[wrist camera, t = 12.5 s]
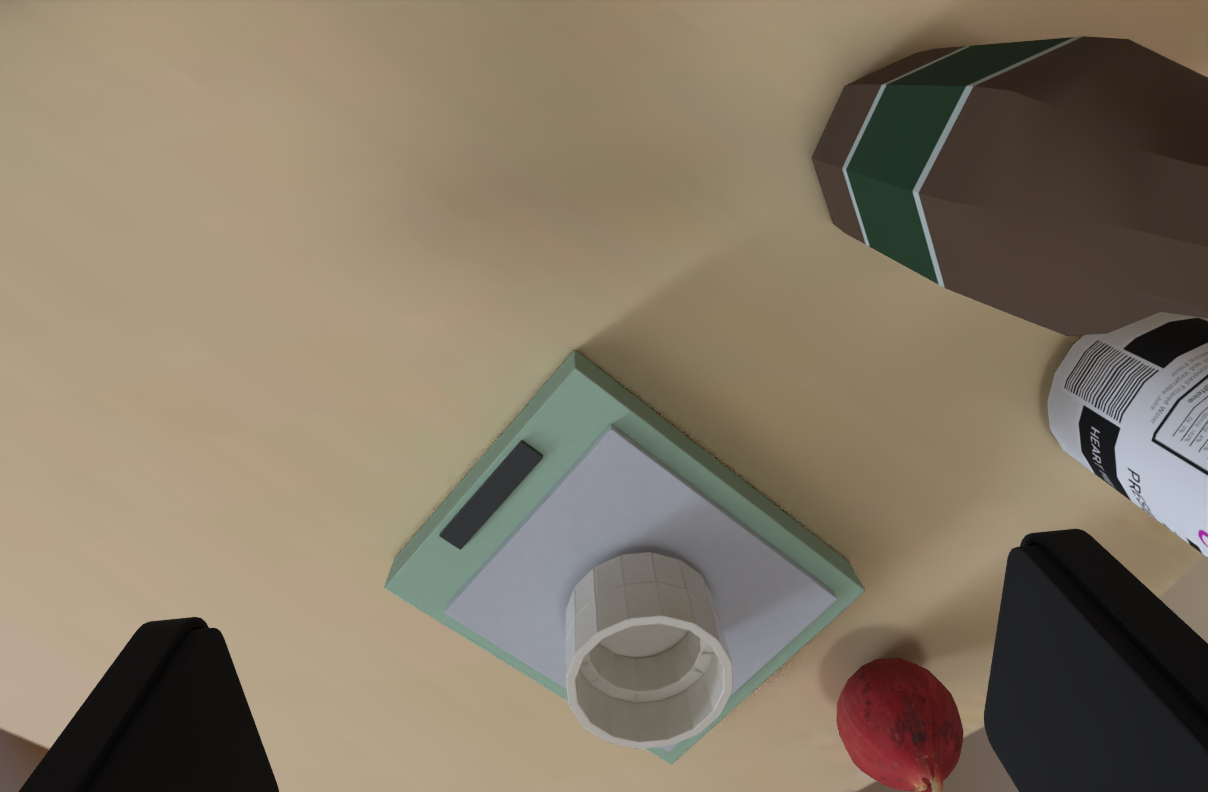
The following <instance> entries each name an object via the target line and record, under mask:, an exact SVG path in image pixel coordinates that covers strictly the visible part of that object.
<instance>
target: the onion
mask: <svg viewBox="0 0 1208 792" xmlns="http://www.w3.org/2000/svg"><path fill="white" fill-rule="evenodd" d="M837 726H838V730H839V735H840V737H841V739H842V741H843V743H844V745H845V747H846V750H847V752H848V753H849V755H850V757H851V759H852V761H853V763H854V764H855V765H856V766H857V767H858V768H859V769H860V770H861V771H863V772H864V773H866V774H867V775H869V776H870V777H872V778H873V779H875V780H877V781H878V782H880V783H882V784H884V785H885V786H888V787H890V788H894V789H900V790H906V791H916V792H942V788H943V780H945V779H946V778H947V777H948V776H949V775H950V773H951V772H952V771H953V769H954V768H955V766H956V764H957V763H958V760H959V757H960V752H961V747H962V742H963V728H962V723H961V719H960V716H959V712H958V709H957V706H956V704H955V701H954V699H953V697H952V695H951V693H950V692H949V691H948V690H947V689H946V688H945V686H944V685H943V684H942V683H941V682H940V681H939V680H938V679H937V678H936V677H935V676H934V675H933V674H932V673H931V672H930V671H929V670H927V669H925V668H923V667H921V666H919V665H917V664H914V663H912V662H909V661H906V660H903V659H901V658H892V659H877V660H874V661H872V662H870V663H868V664H865V665H863V666H862V667H861V668H860V669H859V670H857V671H856V672H855V673H854V674H853V675H852V676H851V677H850V678H849V679H848V681H847V683H846V684H845V686H844V688H843V690H842V692H841V694H840V697H839V700H838V703H837Z"/></svg>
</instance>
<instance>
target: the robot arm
mask: <svg viewBox="0 0 1208 792" xmlns="http://www.w3.org/2000/svg"><path fill="white" fill-rule="evenodd" d="M984 724H985V729H986V733H987V736H988V739H989V742H990V744H991V746H992V748H993V750H994V751H995V753H996V754H997V756H998V758H999V760H1000V761H1001V762H1002V764H1003V766H1004V768H1005V769H1006V771H1007V773H1008V774H1009V776H1010V778H1011V779H1012V781H1013V782H1014V784H1015V786H1016V787H1017V789H1018V791H1019V792H1208V644H1207V643H1206V642H1205V641H1204V640H1203V639H1202V638H1201V637H1200V636H1199V635H1198V634H1197V633H1196V632H1194V631H1193V630H1192V629H1191V628H1190V627H1189V626H1188V625H1187V624H1186V623H1185V622H1184V621H1183V620H1181V619H1180V618H1179V617H1178V616H1177V615H1176V614H1175V613H1174V612H1173V611H1172V610H1171V609H1170V608H1168V607H1167V606H1166V605H1165V604H1164V603H1163V602H1162V601H1161V600H1160V599H1159V598H1158V597H1157V596H1155V595H1154V594H1153V593H1152V592H1151V591H1150V590H1149V589H1148V588H1147V587H1146V586H1145V585H1144V584H1142V583H1141V582H1140V581H1139V580H1138V579H1137V578H1136V577H1135V576H1134V575H1133V574H1132V573H1131V572H1129V571H1128V570H1127V569H1126V568H1125V567H1124V566H1123V565H1122V564H1121V563H1120V562H1119V561H1118V560H1116V559H1115V558H1114V557H1113V556H1112V555H1111V554H1110V553H1109V552H1108V551H1107V550H1106V549H1105V548H1103V547H1102V546H1101V545H1100V544H1099V543H1098V542H1097V541H1096V540H1095V539H1094V538H1093V537H1092V536H1090V535H1089V534H1088V533H1086V532H1085V531H1083V530H1080V529H1069V530H1059V531H1049V532H1039V533H1031V534H1028V535H1026V536H1025V537H1024V539H1023V540H1022V542H1021V545H1020V547H1016V548H1013V549H1012V550H1011V551H1010V553H1009V556H1008V560H1007V566H1006V573H1005V579H1004V586H1003V592H1002V599H1001V605H1000V612H999V619H998V625H997V632H996V638H995V645H994V651H993V658H992V665H991V671H990V678H989V684H988V691H987V697H986V704H985V711H984ZM19 792H279V789H278V785H277V782H276V780H275V777H274V774H273V771H272V769H271V766H270V763H269V760H268V758H267V755H266V752H265V749H264V747H263V744H262V741H261V739H260V736H259V733H258V730H257V728H256V725H255V722H254V719H253V717H252V714H251V711H250V708H249V706H248V703H247V700H246V697H245V695H244V692H243V689H242V686H241V684H240V681H239V678H238V675H237V673H236V670H235V667H234V664H233V662H232V659H231V656H230V653H229V651H228V648H227V645H226V642H225V640H224V637H223V635H222V633H221V632H220V631H219V630H218V629H216V628H209V627H208V626H207V624H206V622H205V621H204V620H202V619H201V618H198V617H191V618H181V619H171V620H161V621H151V622H147V623H145V624H143V625H142V626H141V627H140V628H139V629H138V630H137V631H136V632H135V634H134V635H133V636H132V638H131V639H130V641H129V642H128V643H127V645H126V646H125V647H124V649H123V650H122V651H121V653H120V654H119V656H118V657H117V658H116V660H115V661H114V662H113V664H112V665H111V666H110V668H109V669H108V671H107V672H106V673H105V675H104V676H103V677H102V679H101V680H100V681H99V683H98V684H97V686H96V687H95V688H94V690H93V691H92V692H91V694H90V695H89V696H88V698H87V699H86V701H85V702H84V703H83V705H82V706H81V707H80V709H79V710H78V711H77V713H76V714H75V716H74V717H73V718H72V720H71V721H70V722H69V724H68V725H67V726H66V728H65V729H64V731H63V732H62V733H61V735H60V736H59V737H58V739H57V740H56V741H55V743H54V744H53V746H52V747H51V748H50V750H49V751H48V752H47V754H46V755H45V757H44V758H43V759H42V761H41V762H40V763H39V765H38V766H37V767H36V769H35V770H34V772H33V773H32V774H31V776H30V777H29V778H28V780H27V781H26V782H25V784H24V785H23V787H22V788H21V789H20V791H19Z"/></svg>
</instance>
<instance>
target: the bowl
mask: <svg viewBox="0 0 1208 792" xmlns="http://www.w3.org/2000/svg"><path fill="white" fill-rule="evenodd" d="M565 680H566V689H567V697H568V704H569V706H570V708H571V709H572V711H573V712H574V714H575V715H576V717H577V718H578V720H579V721H580V722H581V724H582V725H583V727H584V728H586V729H587V730H589V731H591V732H592V733H594V734H595V735H597V736H599V737H600V738H602V739H603V740H605V741H607V742H609V743H613V744H618V745H622V746H627V747H631V748H636V749H638V748H639V749H644V748H655V747H666V746H671V745H674V744H676V743H679V742H681V741H684V740H686V739H688V738H691V737H693V736H696V735H698V734H700V733H701V732H702V731H703V730H704V729H705V728H706V727H708V726H709V725H710V724H711V723H712V722H713V721H714V720H716V719H717V718H718V717H719V716H720V715H721V714H722V711H723V709H724V707H725V705H726V703H727V701H728V699H729V697H730V695H731V693H732V691H733V664H732V661H731V657H730V654H729V650H728V647H727V643H726V639H725V636H724V632H723V629H722V625H721V622H720V618H719V615H718V611H717V608H716V604H715V601H714V598H713V595H712V593H711V592H710V590H709V588H708V586H707V584H706V582H705V581H704V579H703V577H702V576H701V574H699V573H698V572H696V571H695V570H694V569H692V568H691V567H690V566H688V565H687V564H685V563H684V562H683V561H681V560H678V559H676V558H672V557H668V556H664V555H660V554H656V553H651V552H644V553H633V554H622V555H620V556H617V557H615V558H613V559H611V560H608V561H606V562H604V563H602V564H600V565H597V566H596V567H595V568H593V569H592V570H591V571H590V572H589V573H588V574H587V575H586V576H585V577H584V578H583V579H582V580H581V581H580V582H579V583H578V584H577V585H576V586H575V587H574V589H573V592H572V595H571V597H570V600H569V603H568V605H567V608H566V657H565Z"/></svg>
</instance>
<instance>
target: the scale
mask: <svg viewBox="0 0 1208 792" xmlns="http://www.w3.org/2000/svg"><path fill="white" fill-rule="evenodd" d="M644 552H651V553H656V554H660V555H664V556H668V557H672V558H676V559H678V560H681V561H683V562H684V563H685V564H687V565H688V566H690V567H691V568H692V569H694V570H695V571H696V572H698V573H699V574H701V576H702V577H703V579H704V581H705V582H706V584H707V586H708V588H709V590H710V592H711V593H712V595H713V598H714V601H715V604H716V608H717V611H718V615H719V618H720V622H721V625H722V629H723V632H724V636H725V639H726V643H727V647H728V650H729V654H730V657H731V661H732V664H733V691H732V693H731V695H730V697H729V699H728V701H727V703H726V705H725V707H724V709H723V711H722V714H721V715H720V716H719V717H718V718H717V719H716V720H714V721H713V722H712V723H711V724H710V725H709V726H708V727H706V728H705V729H704V730H703V731H702V732H701V733H700V734H698V735H696V736H693V737H691V738H688V739H686V740H684V741H681V742H679V743H676V744H674V745H671V746H666V747H655V748H645V749H647V750H648V751H650V752H652V753H653V754H655V755H657V756H658V757H660V758H661V759H663V760H665V761H666V762H668V763H670V764H673V763H674V762H675V761H676V760H677V759H678V758H679V757H681V756H682V755H683V754H684V753H685V752H686V751H687V750H688V749H689V748H691V747H692V746H693V745H694V744H695V743H696V742H697V741H698V740H700V739H701V738H702V737H703V736H704V735H705V734H706V733H707V732H708V731H710V730H711V729H712V728H713V727H714V726H715V725H716V724H717V723H719V722H720V721H721V720H722V719H723V718H724V717H725V716H726V715H727V714H729V713H730V712H731V711H732V710H733V709H734V708H735V707H736V706H737V705H739V704H740V703H741V702H742V701H743V700H744V699H745V698H746V697H748V696H749V695H750V694H751V693H752V692H753V691H754V690H755V689H756V688H758V687H759V686H760V685H761V684H762V683H763V682H764V681H765V680H767V679H768V678H769V677H770V676H771V675H772V674H773V673H774V672H775V671H777V670H778V669H779V668H780V667H781V666H782V665H783V664H784V663H786V662H787V661H788V660H789V659H790V658H791V657H792V656H793V655H794V654H796V653H797V652H798V651H799V650H800V649H801V648H802V647H803V646H804V645H806V644H807V643H808V642H809V641H810V640H811V639H812V638H813V637H815V636H816V635H817V634H818V633H819V632H820V631H821V630H822V629H823V628H825V627H826V626H827V625H828V624H829V623H830V622H831V621H832V620H834V619H835V618H836V617H837V616H838V615H839V614H840V613H841V612H842V611H844V610H845V609H846V608H847V607H848V606H849V605H850V604H851V603H852V602H854V601H855V600H856V599H857V598H858V597H859V596H860V595H861V594H863V593H864V592H865V589H864V587H863V585H862V584H861V582H860V580H859V578H858V577H857V575H856V573H855V572H854V570H853V568H852V566H851V565H850V563H849V562H848V561H847V560H845V559H844V558H843V557H842V556H840V555H839V554H838V553H836V552H835V551H834V550H833V549H831V548H830V547H829V546H827V545H826V544H825V543H824V542H822V541H821V540H820V539H818V538H817V537H816V536H815V535H813V534H812V533H811V532H809V531H808V530H807V529H805V528H804V527H803V526H802V525H800V524H799V523H798V522H796V521H795V520H794V519H793V518H791V517H790V516H789V515H787V514H786V513H785V512H784V511H782V510H781V509H780V508H778V507H777V506H776V505H775V504H773V503H772V502H771V501H769V500H768V499H767V498H766V497H764V496H763V495H762V494H760V493H759V492H758V491H757V490H755V489H754V488H753V487H751V486H750V485H749V484H747V483H746V482H745V481H744V480H742V479H741V478H740V477H738V476H737V475H736V474H735V473H733V472H732V471H731V470H729V469H728V468H727V467H726V466H724V465H723V464H722V463H720V462H719V461H718V460H717V459H715V458H714V457H713V456H711V455H710V454H709V453H708V452H706V451H705V450H704V449H702V448H701V447H700V446H699V445H697V444H696V443H695V442H693V441H692V440H691V439H690V438H688V437H687V436H686V435H684V434H683V433H682V432H680V431H679V430H678V429H677V428H675V427H674V426H673V425H671V424H670V423H669V422H668V421H666V420H665V419H664V418H662V417H661V416H660V415H659V414H657V413H656V412H655V411H653V410H652V409H651V408H650V407H648V406H647V405H646V404H644V403H643V402H642V401H641V400H639V399H638V398H637V397H635V396H634V395H633V394H632V393H630V392H629V391H628V390H626V389H625V388H624V387H623V386H621V385H620V384H619V383H617V382H616V381H615V380H613V379H612V378H611V377H610V376H608V375H607V374H606V373H604V372H603V371H602V370H601V369H599V368H598V367H597V366H595V365H594V364H593V363H592V362H590V361H589V360H588V359H586V358H585V357H584V356H583V355H581V354H580V353H579V352H577V351H576V350H574V351H573V352H572V353H571V354H570V356H569V357H568V358H567V359H566V360H565V361H564V363H563V364H562V365H561V366H560V367H559V368H558V369H557V371H556V372H555V373H554V374H553V375H552V376H551V378H550V379H549V380H548V381H547V382H546V383H545V385H544V386H543V387H542V388H541V389H540V390H539V391H538V393H537V394H536V395H535V396H534V397H533V398H532V400H531V401H530V402H529V403H528V404H527V405H526V407H525V408H524V409H523V410H522V411H521V412H520V414H519V415H518V416H517V417H516V418H515V419H514V420H513V422H512V423H511V424H510V425H509V426H508V427H507V429H506V430H505V431H504V432H503V433H502V434H501V436H500V437H499V438H498V439H497V440H496V441H495V443H494V444H493V445H492V446H491V447H490V448H489V449H488V451H487V452H486V453H485V454H484V455H483V456H482V458H481V459H480V460H479V461H478V462H477V463H476V465H475V466H474V467H473V468H472V469H471V470H470V472H469V473H468V474H467V475H466V476H465V477H464V478H463V480H462V481H461V482H460V483H459V484H458V485H457V487H456V488H455V489H454V490H453V491H452V492H451V494H450V495H449V496H448V497H447V498H446V499H445V500H444V502H443V503H442V504H441V505H440V506H439V507H438V509H437V510H436V511H435V512H434V513H433V514H432V516H431V517H430V518H429V519H428V520H427V521H426V523H425V524H424V525H423V526H422V527H421V528H420V529H419V531H418V532H417V533H416V534H415V535H414V536H413V538H412V539H411V540H410V541H409V542H408V543H407V545H406V546H405V547H404V548H403V549H402V550H401V552H400V553H399V554H398V555H397V556H396V557H395V558H394V561H393V564H392V567H391V569H390V572H389V575H388V578H387V581H386V583H385V586H384V588H385V589H387V590H388V591H390V592H392V593H393V594H395V595H396V596H398V597H400V598H401V599H403V600H405V601H406V602H408V603H409V604H411V605H413V606H414V607H416V608H418V609H419V610H421V611H422V612H424V613H426V614H427V615H429V616H431V617H432V618H434V619H435V620H437V621H439V622H440V623H442V624H444V625H445V626H447V627H448V628H450V629H452V630H453V631H455V632H457V633H458V634H460V635H461V636H463V637H465V638H466V639H468V640H470V641H471V642H473V643H474V644H476V645H478V646H479V647H481V648H483V649H484V650H486V651H487V652H489V653H491V654H492V655H494V656H496V657H497V658H499V659H500V660H502V661H504V662H505V663H507V664H509V665H510V666H512V667H513V668H515V669H517V670H518V671H520V672H522V673H523V674H525V675H526V676H528V677H530V678H531V679H533V680H535V681H536V682H538V683H539V684H541V685H543V686H544V687H546V688H548V689H549V690H551V691H552V692H554V693H556V694H557V695H559V696H561V697H562V698H564V699H565V700H567V701H568V697H567V689H566V680H565V657H566V608H567V605H568V603H569V600H570V597H571V595H572V592H573V589H574V587H575V586H576V585H577V584H578V583H579V582H580V581H581V580H582V579H583V578H584V577H585V576H586V575H587V574H588V573H589V572H590V571H591V570H592V569H593V568H595V567H596V566H597V565H600V564H602V563H604V562H606V561H608V560H611V559H613V558H615V557H617V556H620V555H622V554H633V553H644Z"/></svg>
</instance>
